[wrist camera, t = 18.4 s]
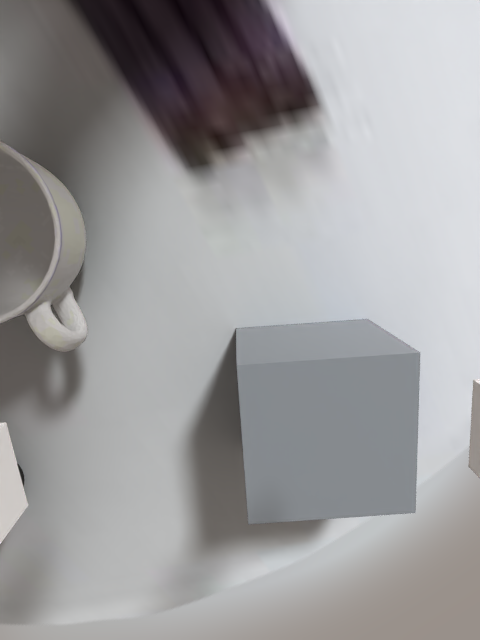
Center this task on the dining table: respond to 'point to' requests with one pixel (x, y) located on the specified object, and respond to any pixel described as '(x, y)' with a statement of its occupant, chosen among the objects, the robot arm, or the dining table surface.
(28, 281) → the teacup
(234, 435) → the dining table surface
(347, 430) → the grey matte cube
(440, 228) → the dining table surface
